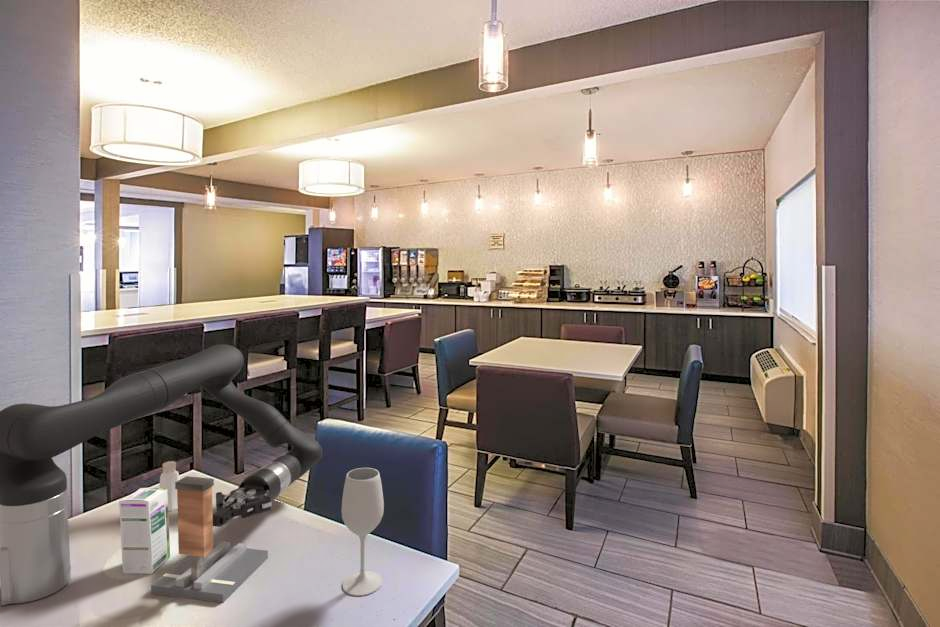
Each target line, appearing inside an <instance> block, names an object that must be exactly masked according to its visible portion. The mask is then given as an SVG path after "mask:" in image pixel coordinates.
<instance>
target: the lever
mask: <svg viewBox="0 0 940 627" xmlns="http://www.w3.org/2000/svg"><path fill="white" fill-rule="evenodd" d="M214 481H215V479H214V478H211V477H199V476H187V475H186V476H185V477H183V478H181V479H180V480H179V481H177V482H175V489H177V503H178V509H177V539H178V540H177V541H178V543H177V544H178V555H185V556H189V555H191V581H196V580H197V579H198V578H199V577H200V576H201V575H202V557H205V556H206V555H207V554H209V553H210V552H211V551H212V550H213V545H214V532H213V531H214V530H213V529H214V526H213V514H214V513H213V486H215V484H214V483H215V482H214Z"/></svg>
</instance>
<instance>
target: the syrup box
mask: <svg viewBox="0 0 940 627" xmlns="http://www.w3.org/2000/svg"><path fill="white" fill-rule="evenodd" d="M169 517H170V516H169V511H168V495H167V489H164V488H159V487H139V489H138V490H136V491H135V492H133V493H131V494H129V495H128V496H125V497H124V498H123V499H121V500H119V521H120V523H119V524H120V541H121V543H120V545H121V560H122V561H121V562H122V563H121V564H122V573H123V574H130V575H152V574H154V572H155V571H156V570H157V569H159V568H160V567H161V566H162V565H163V564H164V563H165V562H167V560H169V559H170V557H171V547H170V546H171V544H170V542H171V541H170V523H169Z"/></svg>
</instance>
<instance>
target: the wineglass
mask: <svg viewBox="0 0 940 627" xmlns="http://www.w3.org/2000/svg"><path fill="white" fill-rule="evenodd" d="M380 474H381V473H380V472H379V470H378V469H376V468H372V467H359V468H354V469H352V470H349V471H348V472H347V473H346V475H345V481H344V485H343V492H342V498H341V499H342V500H341V519H342V520H343V523H344V526H345V527H346V528H347V529H348V530H349V531H350V532H351V533H353V534H354V535H356V536H358V537H359V540H360V571H357V572H353V573H352V574H349V575H348V576H347V577H346V578H345V579H344V580H343V581H342V590H343V591H344V592H345V594H348V595H350V596H354V597H364V596H368V595H371V594H373V593H375V592H377V591H379V589H380V588H381V587H382V584H383V578H382V576H381V575H380V574H378V572H374V571H370V570H365V560H366V558H365V552H366V551H365V547H366V546H365V544H366V543H365V542H366V537H367V536H368V535H369V534H370V533H371V532H373V531H374V530H375V529H376V528H377V526H379V524H380V523H381V522H382V518H383V516H384V512H385V511H384V509H385V508H384V507H385V502H384V493H383V485H382V479H381V476H380Z"/></svg>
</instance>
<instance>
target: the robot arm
mask: <svg viewBox="0 0 940 627" xmlns="http://www.w3.org/2000/svg"><path fill="white" fill-rule="evenodd" d="M244 363H245V359H244V355H243V353H242V352H241V350H240V349H238V348H237V347H235V346H233V345H231V344H230V345H229V344H226V343H225V344H224V343H223V344H221V343H220V344H215V345H213V346H210V347H208V348H206V349H203V350H201V351H199V352H197V353H194V354H192V355H190V356H187V357H184V358H181V359H178V360H174V361H171V362H168V363H165V364H161V365H159V366H155V367H151V368H148V369H144V370H141V371H138V372H134V373H132V374H128V375H126V376H124V377H123V376H122V378H119V379H117V380H116V381H113V382H112V383H111V384H110V385H109V386H108V387H106V388H105V389H104V390H103V391H102V392H101V393H99V394H97V395H95V396H92V397H89V398H85V399H83V400H79V401H78V400H77V401H76V402H70V403H67V404H61V405H57V406H56V405H55V406H54V405H53V406H52V405H51V406H50V405H44V404H43V405H41V404H36V403H34V404H33V403H24V402H23V403H14V404H12V405H9V406H7V407H5V408H3V409H2V410H0V606H6V605H9V604H25V603H29V602H33V601H36V600H41V599H43V598H46V597H48V596H50V595H52V594H55V593H56V592H58V591H60V590H61V589H63V588H64V587H65V586H66V585H68V583H69V581H70V580H71V578H72V577H71V576H72V575H71V571H72V570H71V557H70V556H71V555H70V551H71V550H70V530H69V527H70V526H69V504H68V501H69V500H68V481H67V480H68V479H67V478H68V477H67V474H66V472H65V471H64V470H63V469H61V468H60V467H59V466H58V465H57V464H56V463H55V460H54V459H53V458H55V457H58V456H59V455H61V454H63V453H65V452H67V451H70V450H71V449H73V448H75V447H77V446H79V445H80V444H82V443H84V442H86V441H89V440H90V439H91V438H94V437H96V436H98V435H100V434H102V433H104V432H107V431H109V430H111V429H114V428H118V427H119V426H122V425H125V424H126V423H129V422H132V421H135V420H137V419H140V418H142V417H145V416H148V415H151V414H153V413H156V412H158V411H161V410H163V409H164V408H166V407H168V406H170V405H172V404H174V403H175V402H177V401H179V400H180V399H181V398H182V397H185V396H186V395H188V394H189V393H190V392H192V391H194V389H196V388H197V387H199V386H200V387H201V388H202V389H203V390H205V391H206V392H207V393H209V394H210V395H211V396H213V397H214V398H215V399H216V400H218V401H219V402H220V403H222V404H223V405H224V406H226V407H227V408H228V409H230V410H232V411H233V412H234V413H235V414H237V415H238V416H239V417H240V418H241V419H243V420H244V421H245V422H246V423H247V424H248V425H249V426H250V427H251V428H252V429H254V431H255V432H257V434H258V435H259V436H260V437H261V438H262V439H263V440H264V441H265V442H266V443H267V444H268V446H270V447H271V448H273V449H277V448H279V447H282V445H284V444H288V445H290V446H293V447H292V448H291V449H290V450H288V451H287V452H286V453H285V454H283V455H281V456H279V457H276V458H274V460H272V461H271V462H269V463H267V464H265V465H263V466H262V467H260V468H259V469H257V470H256V471H254V472H252V473H251V474H250V475H248V476H247V477H244V479H243V480H242V481H241V483H240V485H239V486H238V488H236V489H233V490H231V491H230V493H228V494H226V493H225V494H224V493H223V492H222V491H219V492H216V493H215V507H216V508H215V509H216V512H215V513H213V527H216V528H218V527H219V528H221V527H222V526H223V525H225V524H227V523H229V522H230V521H232V520H235V519H237V518H239V517H240V519H241V518H242V519H245V518H250V517H253V516H256V515H260V514H263V513H264V512H268V511H271V510H272V504H273V503H272V502H273V501H274V500H275V499H276V498H278V497H279V496H280V495H281V494H283V492H285V490H286V489H287V488H288V487H290V486H291V484H293V483H294V482H296V481H298V480H299V479H300V478H301V477H303V476H304V475H305V474H306V473H307V472H308V471H310V469H311V468H312V467H314V466H315V465H316V464H317V463H318V462H319V461H321V458H322V457H323V449H322V446H321V444H320V443H319V442H318V440H316V439H315V438H313V437H312V436H310V435H309V434H307V433H305V432H303V431H301V430H300V429H299V428H297V427H295V426H294V425H292V424H291V423H290V422H289V421H288V420H287V418H285V416H284V415H283V414H282V413H281V412H280V411H279V410H278V409H277V408H275V407H274V406H273V405H271V404H269V403H267V402H264V401H262V400H259V399H257V398H254V397H251V396H249V395H247V394H245V393H243V392H242V391H241V390H239V388H237V386H236V385H235V384H234V383H233V382H232V381H233V380H234V379H235V377H237V376H238V374H239V373H240V372H241V370H242V368H243V366H244Z"/></svg>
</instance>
